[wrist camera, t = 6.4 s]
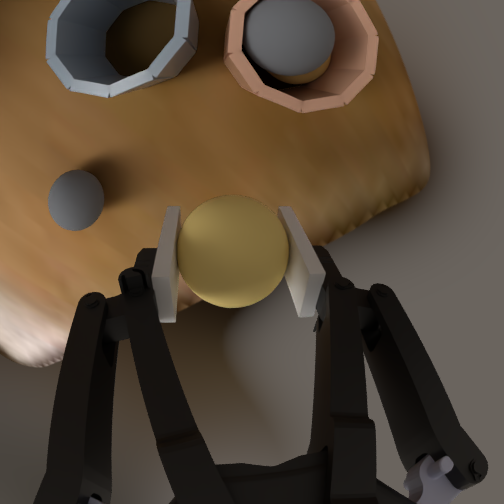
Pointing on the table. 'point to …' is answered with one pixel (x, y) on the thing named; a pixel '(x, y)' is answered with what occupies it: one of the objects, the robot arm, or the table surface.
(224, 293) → the ochre ball
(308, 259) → the robot arm
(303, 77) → the ochre ball
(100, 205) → the charcoal ball
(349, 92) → the terracotta tube
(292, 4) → the charcoal ball
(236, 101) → the table surface
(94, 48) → the slate tube
